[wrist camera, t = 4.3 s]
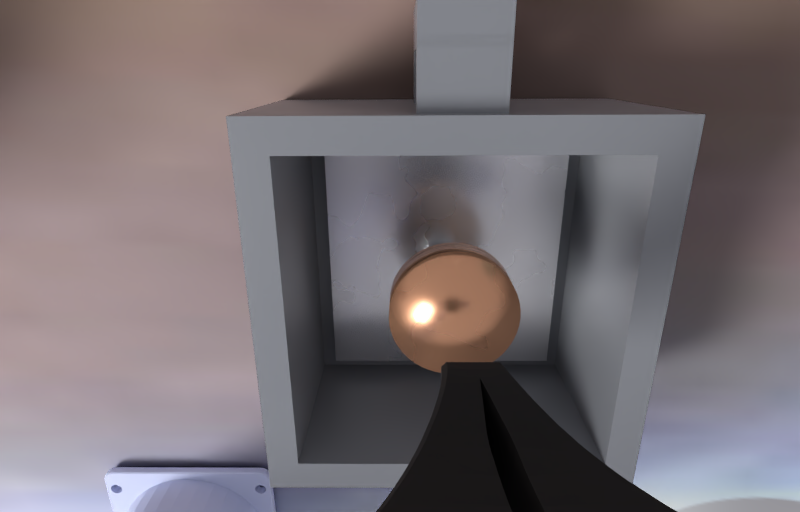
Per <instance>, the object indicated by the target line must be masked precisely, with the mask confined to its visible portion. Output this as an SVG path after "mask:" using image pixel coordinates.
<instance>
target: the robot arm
mask: <svg viewBox="0 0 800 512" xmlns="http://www.w3.org/2000/svg"><path fill="white" fill-rule="evenodd" d="M105 483H106V487H107V491H108V495H109V498H110V502H111V506H112V510H113V512H276V509H275V500H274V492H273V487H270V479H269V471H268V470H267V469H265V468H178V467H115V468H112V469H110V470H109V471H108V473H107V474H106V476H105ZM118 485H119V486H118ZM259 485H262V486H264V487H260V486H259ZM376 512H677V511H675V510H673V509H672V508H670V507H668V506H666V505H665V504H663V503H662V502H660V501H658V500H657V499H655V498H654V497H652V496H651V495H649V494H648V493H646V492H644V491H643V490H641V489H640V488H638V487H637V486H635V485H634V484H632V483H631V482H629V481H628V480H626V479H625V478H623V477H622V476H621V475H619V474H618V473H616V472H615V471H614V470H612V469H611V468H610V467H608V466H607V465H606V464H604V463H603V462H602V461H601V460H599V459H598V458H597V457H595V456H594V455H593V454H591V453H590V452H589V451H588V450H586V449H585V448H584V447H583V446H582V445H580V444H579V443H578V442H577V441H576V440H575V439H574V438H572V437H571V436H570V435H569V434H568V433H567V432H566V431H565V430H564V429H562V428H561V427H560V426H559V425H558V424H557V423H556V422H555V421H554V420H553V419H552V418H551V417H550V416H549V415H548V414H547V413H546V412H545V411H544V410H543V409H542V408H541V407H540V406H539V405H538V404H537V403H536V402H535V401H534V400H533V399H532V397H531V396H530V395H529V394H528V393H527V392H526V391H525V390H524V389H523V388H522V386H521V385H520V384H519V383H518V382H517V381H516V380H515V379H514V377H513V376H512V375H511V374H510V373H509V372H508V371H507V369H506V368H505V367H504V366H503V365H502V364H501V363H500V362H446V363H445V364H444V365H442V366H441V386H440V390H439V395H438V398H437V401H436V404H435V407H434V410H433V413H432V416H431V419H430V421H429V424H428V426H427V428H426V430H425V433H424V435H423V437H422V440H421V442H420V444H419V446H418V448H417V450H416V452H415V454H414V456H413V457H412V459H411V461H410V463H409V464H408V466H407V468H406V470H405V471H404V473H403V474H402V476H401V478H400V479H399V481H398V482H397V484H396V485H395V487H394V488H393V490H392V491H391V493H390V494H389V496H388V497H387V498H386V500H385V501H384V502H383V504H382V505H381V506H380V508H379V509H378V510H377V511H376Z"/></svg>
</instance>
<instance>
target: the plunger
mask: <svg viewBox="0 0 800 512" xmlns="http://www.w3.org/2000/svg"><path fill="white" fill-rule="evenodd" d="M324 158H325V175H326V193H327V211H328V229H329V247H330V265H331V282H332V300H333V318H334V336H335V354H336V361H413V362H414V363H416V364H417V365H419V366H421V367H423V368H425V369H428V370H431V371H434V372H439V373H441V366H442V365H444V364H445V363H446V362H493V361H547V352H548V343H549V334H550V325H551V316H552V307H553V298H554V288H555V279H556V270H557V261H558V252H559V243H560V234H561V225H562V216H563V207H564V198H565V189H566V180H567V171H568V162H569V155H455V156H324Z"/></svg>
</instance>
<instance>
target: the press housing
mask: <svg viewBox="0 0 800 512" xmlns="http://www.w3.org/2000/svg"><path fill="white" fill-rule="evenodd" d="M516 2H517V0H416V3H415V9H414V99H376V100H281V101H278V102H274V103H271V104H267V105H264V106H260V107H257V108H253V109H250V110H246V111H243V112H239V113H236V114H232V115H229V116H226V120H227V128H228V137H229V145H230V153H231V162H232V170H233V178H234V187H235V195H236V203H237V212H238V220H239V229H240V237H241V245H242V254H243V262H244V270H245V279H246V287H247V295H248V304H249V312H250V320H251V329H252V337H253V345H254V354H255V362H256V370H257V379H258V387H259V395H260V404H261V412H262V420H263V429H264V437H265V445H266V454H267V462H268V471H269V479H270V487H274V488H394V487H395V485H396V484H397V482H398V481H399V479H400V478H401V476H402V474H403V473H404V471H405V470H406V468H407V466H408V464H409V463H410V461H411V459H412V457H413V456H414V454H415V452H416V450H417V448H418V446H419V444H420V442H421V440H422V437H423V435H424V433H425V430H426V428H427V426H428V424H429V421H430V419H431V416H432V413H433V410H434V407H435V404H436V401H437V398H438V395H439V390H440V386H441V373H439V372H434V371H431V370H428V369H425V368H423V367H421V366H419V365H417V364H416V363H414V362H413V361H336V354H335V336H334V318H333V300H332V282H331V265H330V247H329V229H328V211H327V193H326V175H325V158H324V156H455V155H569V162H568V171H567V180H566V189H565V198H564V207H563V216H562V225H561V234H560V243H559V252H558V261H557V270H556V279H555V288H554V298H553V307H552V316H551V325H550V334H549V343H548V352H547V361H493V362H500V363H501V364H502V365H503V366H504V367H505V368H506V369H507V371H508V372H509V373H510V374H511V375H512V376H513V377H514V379H515V380H516V381H517V382H518V383H519V384H520V385H521V386H522V388H523V389H524V390H525V391H526V392H527V393H528V394H529V395H530V396H531V397H532V399H533V400H534V401H535V402H536V403H537V404H538V405H539V406H540V407H541V408H542V409H543V410H544V411H545V412H546V413H547V414H548V415H549V416H550V417H551V418H552V419H553V420H554V421H555V422H556V423H557V424H558V425H559V426H560V427H561V428H562V429H564V430H565V431H566V432H567V433H568V434H569V435H570V436H571V437H572V438H574V439H575V440H576V441H577V442H578V443H579V444H580V445H582V446H583V447H584V448H585V449H586V450H588V451H589V452H590V453H591V454H593V455H594V456H595V457H597V458H598V459H599V460H601V461H602V462H603V463H604V464H606V465H607V466H608V467H610V468H611V469H612V470H614V471H615V472H616V473H618V474H619V475H621V476H622V477H623V478H625V479H626V480H628V481H629V482H631V483H632V484H633V479H634V474H635V469H636V463H637V458H638V453H639V448H640V443H641V438H642V433H643V428H644V423H645V418H646V413H647V408H648V403H649V398H650V393H651V388H652V383H653V378H654V373H655V368H656V363H657V357H658V352H659V347H660V342H661V337H662V332H663V327H664V322H665V317H666V312H667V307H668V302H669V297H670V292H671V287H672V282H673V277H674V272H675V267H676V262H677V256H678V251H679V246H680V241H681V236H682V231H683V226H684V221H685V216H686V211H687V206H688V201H689V196H690V191H691V186H692V181H693V176H694V171H695V166H696V161H697V156H698V150H699V145H700V140H701V135H702V130H703V125H704V120H705V115H706V114H700V113H694V112H688V111H682V110H676V109H670V108H663V107H657V106H651V105H645V104H639V103H633V102H627V101H620V100H614V99H510V91H511V76H512V61H513V47H514V32H515V17H516Z"/></svg>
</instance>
